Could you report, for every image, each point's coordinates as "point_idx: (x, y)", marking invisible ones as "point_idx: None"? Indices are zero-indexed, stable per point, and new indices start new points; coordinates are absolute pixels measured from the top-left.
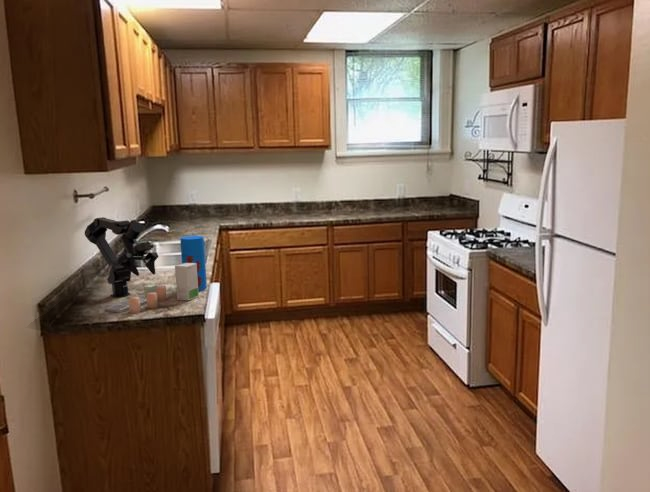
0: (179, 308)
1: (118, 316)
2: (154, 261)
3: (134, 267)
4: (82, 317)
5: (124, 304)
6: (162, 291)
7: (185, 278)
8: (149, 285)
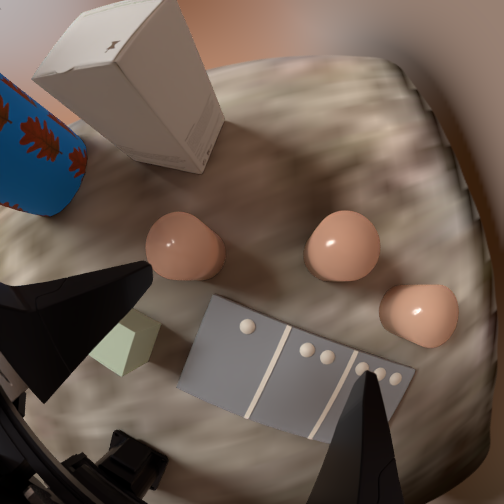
0: (339, 124)
1: (448, 349)
2: (7, 286)
3: (394, 461)
4: (430, 462)
5: (319, 403)
6: (207, 228)
7: (193, 55)
8: (101, 349)
